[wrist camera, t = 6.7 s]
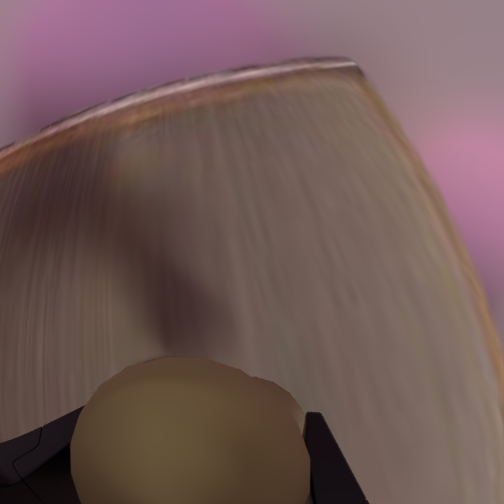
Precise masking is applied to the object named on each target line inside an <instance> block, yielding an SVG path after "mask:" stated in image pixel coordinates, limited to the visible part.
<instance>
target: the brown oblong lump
mask: <svg viewBox="0 0 504 504" xmlns="http://www.w3.org/2000/svg"><path fill="white" fill-rule="evenodd" d="M304 422H305V417H304V414H303V411H302V408H301V407H300V405H299V404H298V403H297V402H296V400H295V399H294V398H293V397H292V395H291V394H290V393H289V392H287V391H286V390H284V389H283V388H281V387H280V386H278V385H277V384H275V383H274V382H271V381H268V380H264V379H261V378H258V377H250V376H249V375H247V374H246V373H244V372H243V371H241V370H239V369H236V368H233V367H230V366H227V365H224V364H221V363H218V362H215V361H212V360H209V359H206V358H192V357H164V358H160V359H156V360H152V361H149V362H145V363H141V364H138V365H134V366H130V367H127V368H125V369H124V370H122V371H121V372H119V373H118V374H116V375H115V376H113V377H112V378H110V379H109V380H107V381H106V382H104V383H103V384H101V385H100V386H99V388H98V389H97V390H96V392H95V393H94V394H93V396H92V397H91V398H90V400H89V401H88V402H87V404H86V405H85V407H84V408H83V409H82V411H81V413H80V415H79V417H78V420H77V424H76V427H75V430H74V433H73V437H72V440H71V443H70V453H71V475H72V478H73V481H74V484H75V487H76V491H77V494H78V497H79V499H80V502H81V504H306V502H307V499H308V497H309V495H310V456H309V453H308V451H307V448H306V445H305V442H304V440H303V437H302V433H303V427H304Z"/></svg>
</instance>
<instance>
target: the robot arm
mask: <svg viewBox="0 0 504 504" xmlns="http://www.w3.org/2000/svg"><path fill="white" fill-rule="evenodd" d="M84 407H85V405H84V406H82V407H80V408H78V409H76V410H74V411H72V412H70V413H68V414H66V415H64V416H62V417H60V418H58V419H56V420H54V421H52V422H50V423H48V424H46V425H44V426H43V428H42V427H40V428H37V429H35V430H33V431H31V432H29V433H26V434H24V435H22V436H19V437H17V438H14V439H11V440H9V441H6V442H3V443H0V504H81V502H80V499H79V497H78V494H77V491H76V487H75V484H74V481H73V478H72V475H71V453H70V443H71V440H72V437H73V433H74V430H75V427H76V424H77V420H78V417H79V415H80V413H81V411H82V409H83V408H84ZM302 437H303V440H304V442H305V445H306V448H307V451H308V453H309V456H310V495H309V497H308V499H307V502H306V504H369V502H368V500H365V499H366V497H365V495H364V493H363V491H362V489H361V487H360V486H359V484H358V482H357V480H356V478H355V476H354V474H353V472H352V471H351V469H350V467H349V465H348V463H347V461H346V459H345V457H344V455H343V454H342V452H341V450H340V448H339V446H338V444H337V442H336V440H335V438H334V437H333V435H332V433H331V431H330V429H329V427H328V425H327V423H326V421H325V419H324V417H323V416H322V414H321V413H320V412H307V413H306V416H305V422H304V427H303V433H302Z"/></svg>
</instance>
